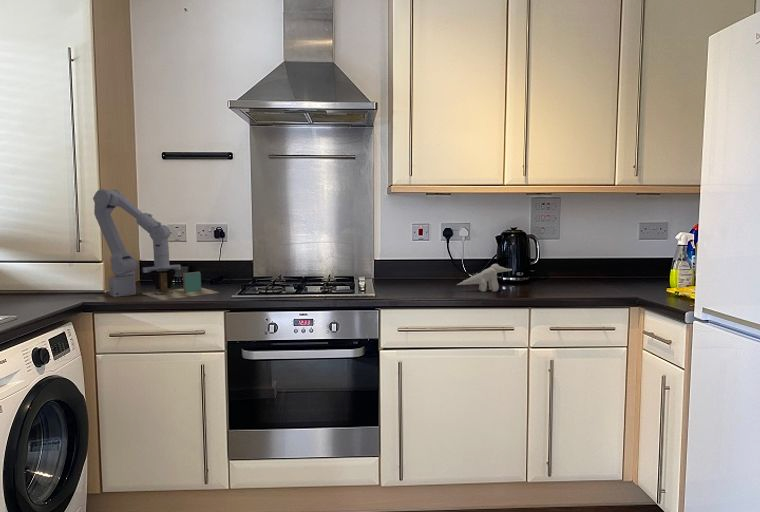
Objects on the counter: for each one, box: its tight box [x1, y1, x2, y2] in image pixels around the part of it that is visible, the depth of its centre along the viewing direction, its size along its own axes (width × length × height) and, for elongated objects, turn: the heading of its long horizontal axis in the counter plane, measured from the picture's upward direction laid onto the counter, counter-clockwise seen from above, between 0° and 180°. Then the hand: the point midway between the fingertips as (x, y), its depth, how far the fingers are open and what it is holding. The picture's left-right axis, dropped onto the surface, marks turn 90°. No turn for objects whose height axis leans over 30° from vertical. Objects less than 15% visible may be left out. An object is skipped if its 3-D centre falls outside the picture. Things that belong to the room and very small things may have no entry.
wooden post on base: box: [153, 272, 173, 296], centre depth 215 cm, size 6×5×8 cm
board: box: [141, 287, 221, 301], centre depth 217 cm, size 24×22×1 cm
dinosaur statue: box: [456, 263, 513, 293], centre depth 218 cm, size 7×24×11 cm, turn 94°
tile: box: [182, 271, 202, 293], centre depth 220 cm, size 7×2×8 cm, turn 133°
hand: (163, 288), depth 215 cm, fingers open, 4 cm apart
